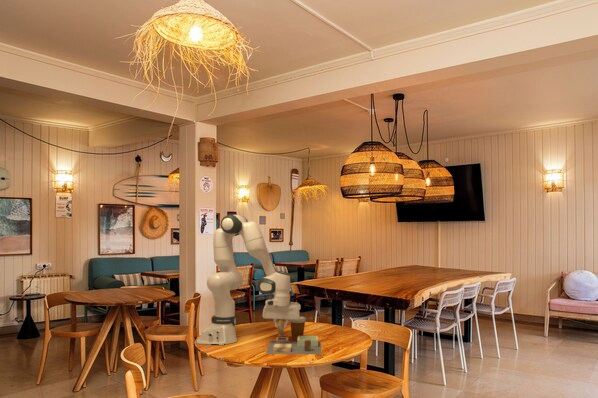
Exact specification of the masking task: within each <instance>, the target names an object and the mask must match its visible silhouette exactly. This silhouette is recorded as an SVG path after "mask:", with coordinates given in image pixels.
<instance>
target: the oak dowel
mask: <svg viewBox="0 0 598 398" xmlns="http://www.w3.org/2000/svg"><path fill="white" fill-rule="evenodd" d="M284 321H285V319H277V323H278V327H277V336H280V337H282V336H284V331H285V330H284V328H283V325H284V324H285V323H284Z"/></svg>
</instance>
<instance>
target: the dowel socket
mask: <svg viewBox="0 0 598 398" xmlns="http://www.w3.org/2000/svg"><path fill="white" fill-rule="evenodd" d="M275 341H276V344H288V341H289V337H282V336H280V337H276V338H275Z"/></svg>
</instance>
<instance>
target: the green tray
mask: <svg viewBox="0 0 598 398" xmlns="http://www.w3.org/2000/svg"><path fill="white" fill-rule="evenodd" d="M305 340H311V347H318V342H319V337H318V335H303V336H298V339H296V341H297V347H305Z"/></svg>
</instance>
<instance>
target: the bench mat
mask: <svg viewBox="0 0 598 398" xmlns="http://www.w3.org/2000/svg"><path fill="white" fill-rule="evenodd" d="M274 344H276V340H275V341H273V340H270V341H269V344H268V346H267V349H266V351H265V354H266V355H322V345H321V344H322V343H321V341H318V347H311V351H305V347H297V340H296V341H291V340H290V341H289V340H288V344H292V346H291V352H273V347H274Z"/></svg>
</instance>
